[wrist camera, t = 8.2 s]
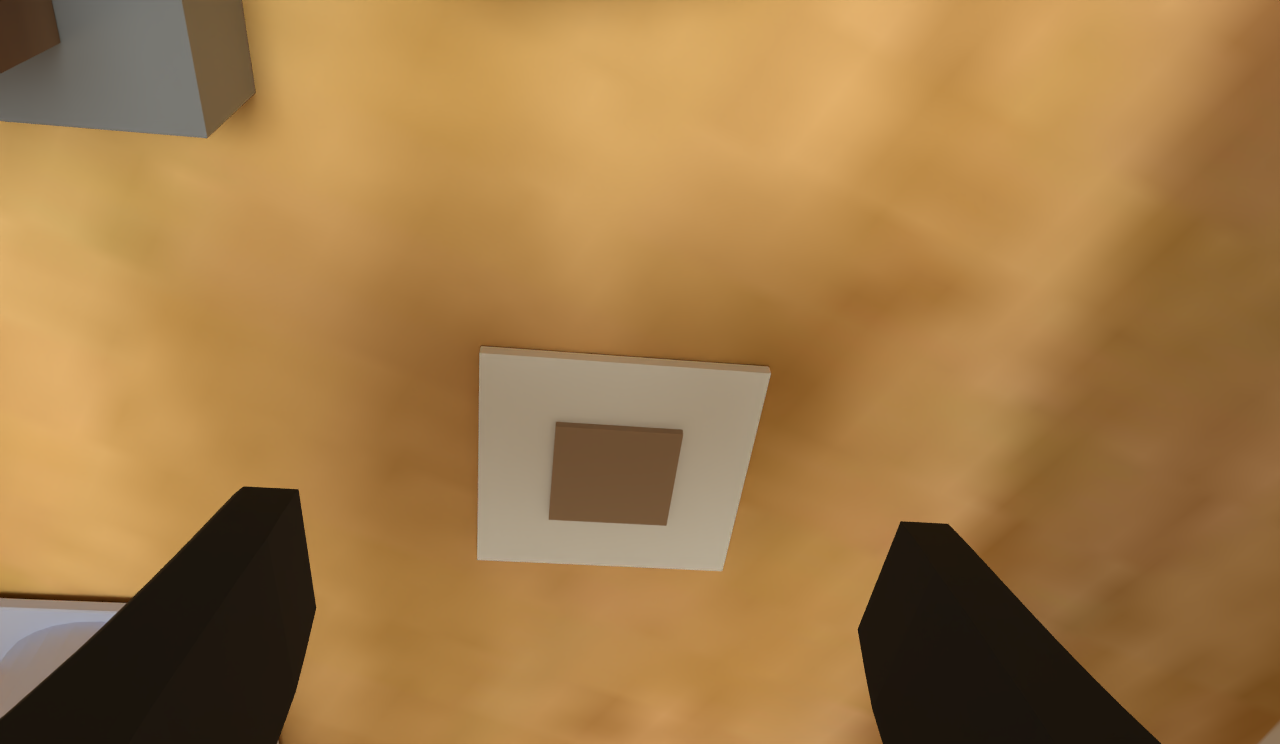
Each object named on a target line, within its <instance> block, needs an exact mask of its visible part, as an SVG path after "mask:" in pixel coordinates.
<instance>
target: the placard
mask: <svg viewBox="0 0 1280 744" xmlns="http://www.w3.org/2000/svg"><path fill="white" fill-rule="evenodd" d="M770 376H771V372H770V368H769V366H755V365H741V364H727V363H713V362H699V361H685V360H671V359H657V358H643V357H629V356H614V355H600V354H586V353H572V352H558V351H544V350H530V349H516V348H502V347H488V346H481V348H480V353H479V442H478V535H477V560H489V561H511V562H533V563H555V564H577V565H598V566H620V567H642V568H664V569H686V570H707V571H722V570H723V566H724V562H725V558H726V554H727V550H728V546H729V542H730V538H731V534H732V530H733V526H734V522H735V518H736V514H737V510H738V506H739V501H740V497H741V493H742V489H743V485H744V481H745V477H746V473H747V469H748V465H749V461H750V457H751V453H752V449H753V445H754V441H755V436H756V432H757V428H758V424H759V420H760V416H761V412H762V408H763V404H764V400H765V396H766V392H767V388H768V384H769V380H770Z"/></svg>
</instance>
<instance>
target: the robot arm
mask: <svg viewBox="0 0 1280 744" xmlns="http://www.w3.org/2000/svg"><path fill="white" fill-rule="evenodd" d="M315 611H316V604H315V597H314V590H313V583H312V577H311V570H310V563H309V557H308V550H307V543H306V537H305V530H304V523H303V516H302V510H301V503H300V496H299V490H298V489H280V488H261V487H243V488H241V489H240V490H239V491H237V492H236V493H235V494H234V495H233V496H232V497H231V498H230V499H229V500H228V501H227V502H226V503H225V504H224V505H223V506H222V507H221V508H220V509H219V510H218V511H217V512H216V514H215V515H214V516H213V517H212V518H211V519H210V520H209V521H208V522H207V523H206V524H205V525H204V526H203V527H202V528H201V529H200V530H199V531H198V532H197V533H196V534H195V535H194V536H193V537H192V538H191V540H190V541H189V542H188V543H187V544H186V545H185V546H184V547H183V548H182V549H181V550H180V551H179V552H178V553H177V554H176V555H175V556H174V557H173V558H172V559H171V560H170V561H169V562H168V563H167V564H166V565H165V566H164V567H163V568H162V569H161V570H160V571H159V572H158V573H157V574H156V575H155V576H154V577H153V578H152V579H151V580H150V581H149V582H148V583H147V584H146V585H145V586H144V587H143V588H142V589H141V590H140V591H139V592H138V593H137V594H136V595H135V596H134V597H133V598H132V599H130V600H129V601H128V602H127V603H115V602H90V601H64V600H39V599H13V598H0V744H279V741H278V739H279V736H280V734H281V731H282V728H283V725H284V723H285V720H286V717H287V715H288V712H289V709H290V706H291V703H292V701H293V698H294V695H295V692H296V689H297V685H298V681H299V677H300V673H301V669H302V665H303V661H304V657H305V653H306V649H307V645H308V641H309V636H310V632H311V628H312V623H313V619H314V615H315ZM858 634H859V640H860V645H861V651H862V657H863V663H864V669H865V674H866V679H867V684H868V689H869V694H870V700H871V705H872V709H873V713H874V716H875V719H876V723H877V726H878V729H879V733H880V736H881V739H882V742H883V744H1161V743H1160V742H1159V741H1158V740H1157V739H1156V738H1155V737H1154V736H1153V735H1152V734H1151V733H1149V732H1148V731H1147V730H1146V729H1145V728H1144V727H1143V726H1142V725H1141V724H1140V723H1139V722H1138V721H1137V720H1136V719H1135V718H1134V717H1133V716H1132V715H1131V714H1129V713H1128V712H1127V711H1126V710H1125V709H1124V708H1123V707H1122V706H1121V705H1120V704H1119V703H1118V702H1117V701H1116V700H1115V699H1114V698H1113V697H1112V696H1111V695H1110V694H1109V693H1108V692H1107V691H1106V690H1105V689H1104V688H1103V687H1102V686H1101V685H1100V684H1099V683H1098V682H1097V681H1096V680H1095V679H1094V678H1093V677H1092V676H1091V675H1090V674H1089V673H1088V672H1087V671H1086V670H1085V669H1084V668H1083V667H1082V666H1081V665H1080V664H1079V663H1078V662H1077V661H1076V660H1075V659H1074V658H1073V657H1072V655H1071V654H1070V653H1069V652H1068V651H1067V650H1066V649H1065V648H1064V647H1063V646H1062V645H1061V644H1060V643H1059V642H1058V641H1057V640H1056V639H1055V638H1054V637H1053V636H1052V635H1051V634H1050V632H1049V631H1048V630H1047V629H1046V628H1045V627H1044V626H1043V625H1042V624H1041V623H1040V622H1039V621H1038V620H1037V619H1036V618H1035V617H1034V615H1033V614H1032V613H1031V612H1030V611H1029V610H1028V609H1027V608H1026V607H1025V606H1024V605H1023V604H1022V602H1021V601H1020V600H1019V599H1018V598H1017V597H1016V596H1015V595H1014V594H1013V593H1012V592H1011V591H1010V590H1009V588H1008V587H1007V586H1006V585H1005V584H1004V583H1003V582H1002V581H1001V580H1000V579H999V578H998V576H997V575H996V574H995V573H994V572H993V571H992V570H991V569H990V568H989V567H988V566H987V565H986V563H985V562H984V561H983V560H982V559H981V558H980V557H979V556H978V555H977V554H976V553H975V552H974V550H973V549H972V548H971V547H970V546H969V545H968V544H967V543H966V542H965V541H964V540H963V539H962V538H961V537H960V536H959V535H958V534H957V533H956V532H955V531H954V529H953V528H952V527H951V526H950V525H949V524H940V523H921V522H902V521H901V522H900V525H899V527H898V530H897V532H896V535H895V537H894V540H893V542H892V545H891V547H890V550H889V552H888V555H887V557H886V560H885V562H884V565H883V567H882V570H881V572H880V575H879V577H878V580H877V582H876V585H875V587H874V590H873V592H872V595H871V597H870V600H869V602H868V605H867V607H866V610H865V612H864V615H863V617H862V620H861V622H860V625H859V627H858Z"/></svg>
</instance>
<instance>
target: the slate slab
mask: <svg viewBox="0 0 1280 744" xmlns="http://www.w3.org/2000/svg"><path fill="white" fill-rule="evenodd" d="M52 5H53V10H54V15H55V19H56V24H57V29H58V33H59V38H60V43H59V44H57V45H55V46H53V47H52V48H50V49H48V50H46V51H44V52H42V53H40V54H38V55H36V56H34V57H32V58H30V59H28V60H26V61H24V62H22V63H20V64H18V65H16V66H14V67H13V68H11V69H9V70H7V71H5V72H3V73H1V74H0V121H6V122H18V123H30V124H42V125H55V126H67V127H79V128H91V129H103V130H115V131H127V132H139V133H152V134H164V135H176V136H188V137H200V138H208V137H209V136H210V135H211V134H212V133H213V132H214V131H215V130H217V129H218V128H219V127H220V126H221V125H222V124H223V123H224V122H225V121H226V120H227V119H228V118H229V117H230V116H231V115H232V114H233V113H234V112H236V111H237V110H238V109H239V108H240V107H241V106H242V105H243V104H244V103H245V102H246V101H247V100H248V99H249V98H250V97H251V96H252V95H253V94H255V93H256V91H255V85H254V78H253V71H252V65H251V58H250V51H249V45H248V38H247V31H246V24H245V18H244V11H243V4H242V0H52Z"/></svg>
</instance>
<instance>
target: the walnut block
mask: <svg viewBox="0 0 1280 744" xmlns="http://www.w3.org/2000/svg"><path fill="white" fill-rule="evenodd" d="M59 43H60V38H59V33H58V29H57V24H56V19H55V15H54V10H53V5H52V0H0V74H1V73H3V72H5V71H7V70H9V69H11V68H13V67H14V66H16V65H18V64H20V63H22V62H24V61H26V60H28V59H30V58H32V57H34V56H36V55H38V54H40V53H42V52H44V51H46V50H48V49H50V48H52V47H53V46H55V45H57V44H59Z"/></svg>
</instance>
